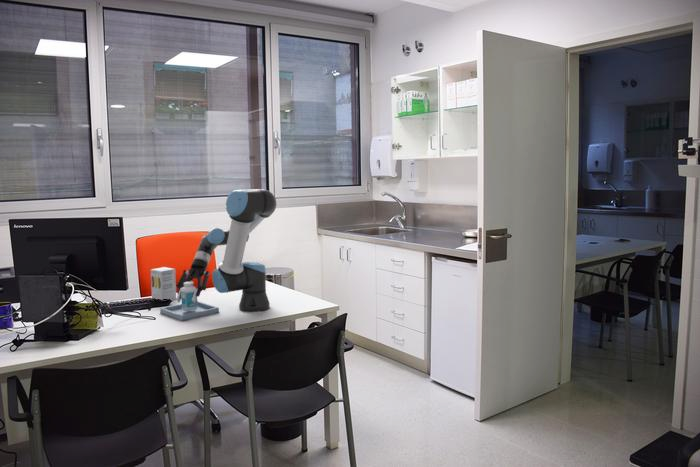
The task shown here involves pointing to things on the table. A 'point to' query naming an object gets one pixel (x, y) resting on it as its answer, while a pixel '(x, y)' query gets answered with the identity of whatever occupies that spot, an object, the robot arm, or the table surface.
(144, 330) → the table surface
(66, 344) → the table surface
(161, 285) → the supplement box
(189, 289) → the pill bottle
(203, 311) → the tray
